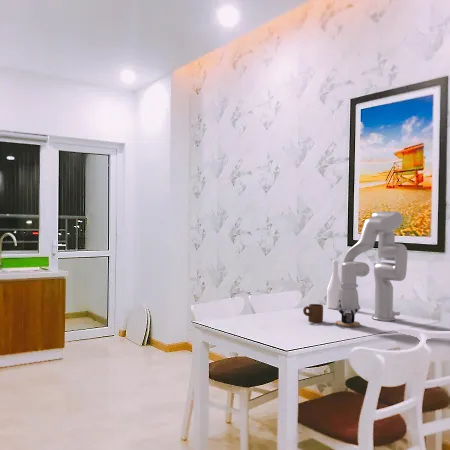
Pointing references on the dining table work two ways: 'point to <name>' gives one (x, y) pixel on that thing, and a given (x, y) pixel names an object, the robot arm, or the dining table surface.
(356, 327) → the rubber mat
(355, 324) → the copper lid
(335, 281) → the wine bottle
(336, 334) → the dining table surface
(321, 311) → the mug
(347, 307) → the robot arm
